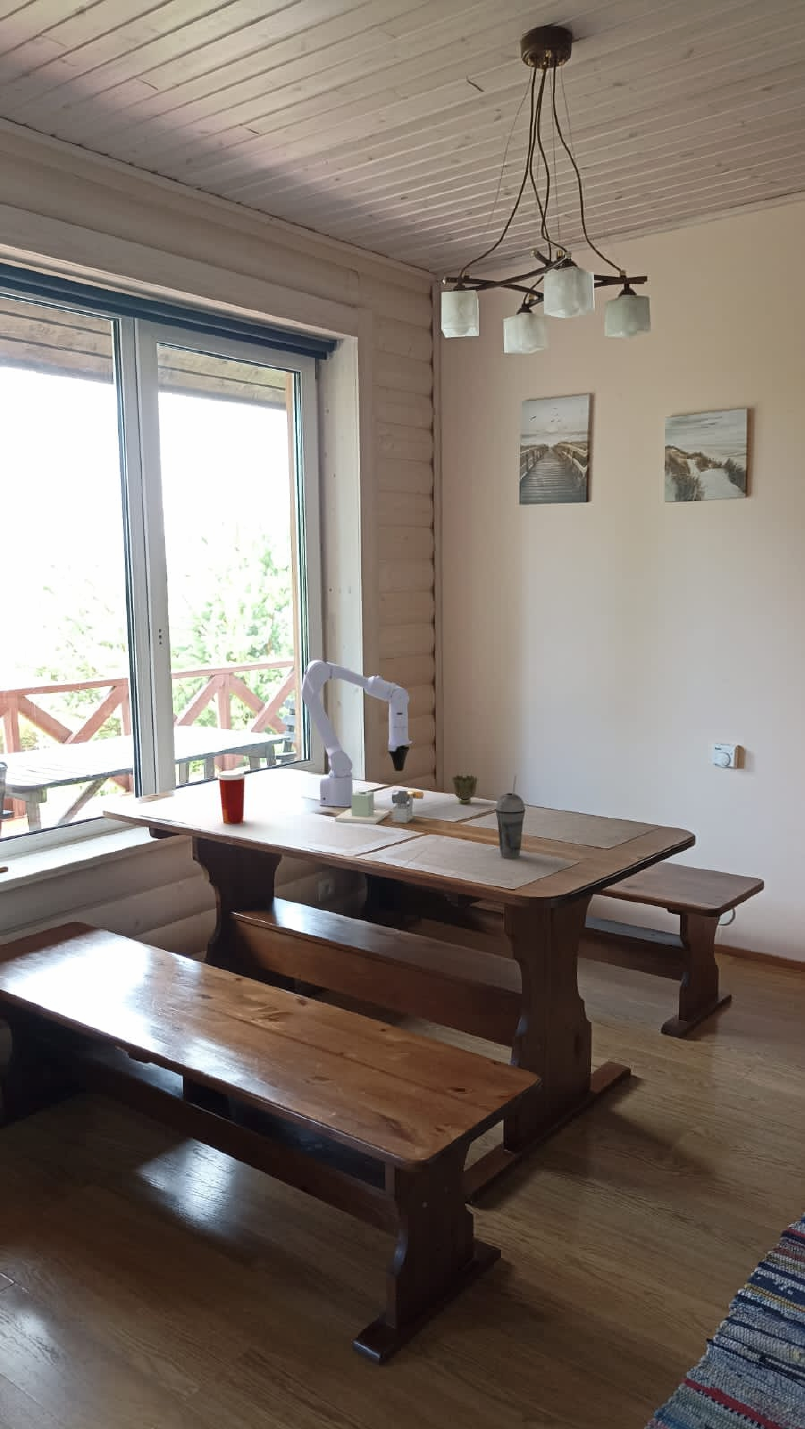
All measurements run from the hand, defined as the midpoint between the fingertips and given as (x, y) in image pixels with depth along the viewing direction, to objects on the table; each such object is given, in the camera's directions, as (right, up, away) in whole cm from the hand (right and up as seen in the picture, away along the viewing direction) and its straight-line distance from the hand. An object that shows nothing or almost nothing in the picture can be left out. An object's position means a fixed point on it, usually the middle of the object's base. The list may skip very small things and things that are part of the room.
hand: (399, 770), depth 305 cm
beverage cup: (+27, -18, -61) cm, 69 cm away
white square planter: (+1, -13, -23) cm, 26 cm away
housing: (-10, -11, -20) cm, 25 cm away
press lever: (+2, -8, -19) cm, 21 cm away
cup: (+20, -10, -3) cm, 22 cm away
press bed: (-10, -12, -19) cm, 25 cm away
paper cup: (-47, -13, -22) cm, 53 cm away
